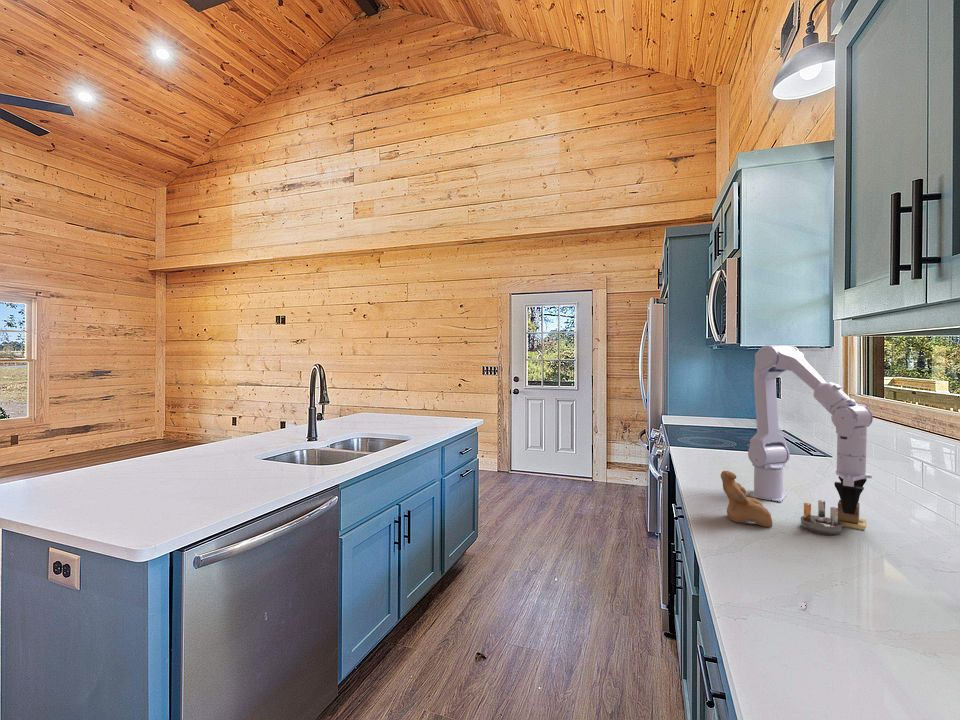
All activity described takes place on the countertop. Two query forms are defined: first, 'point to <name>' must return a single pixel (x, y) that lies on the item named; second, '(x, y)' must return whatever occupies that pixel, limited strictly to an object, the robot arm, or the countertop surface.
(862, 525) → the pad
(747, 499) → the figurine
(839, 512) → the block
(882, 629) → the countertop surface
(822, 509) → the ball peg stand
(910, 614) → the countertop surface
